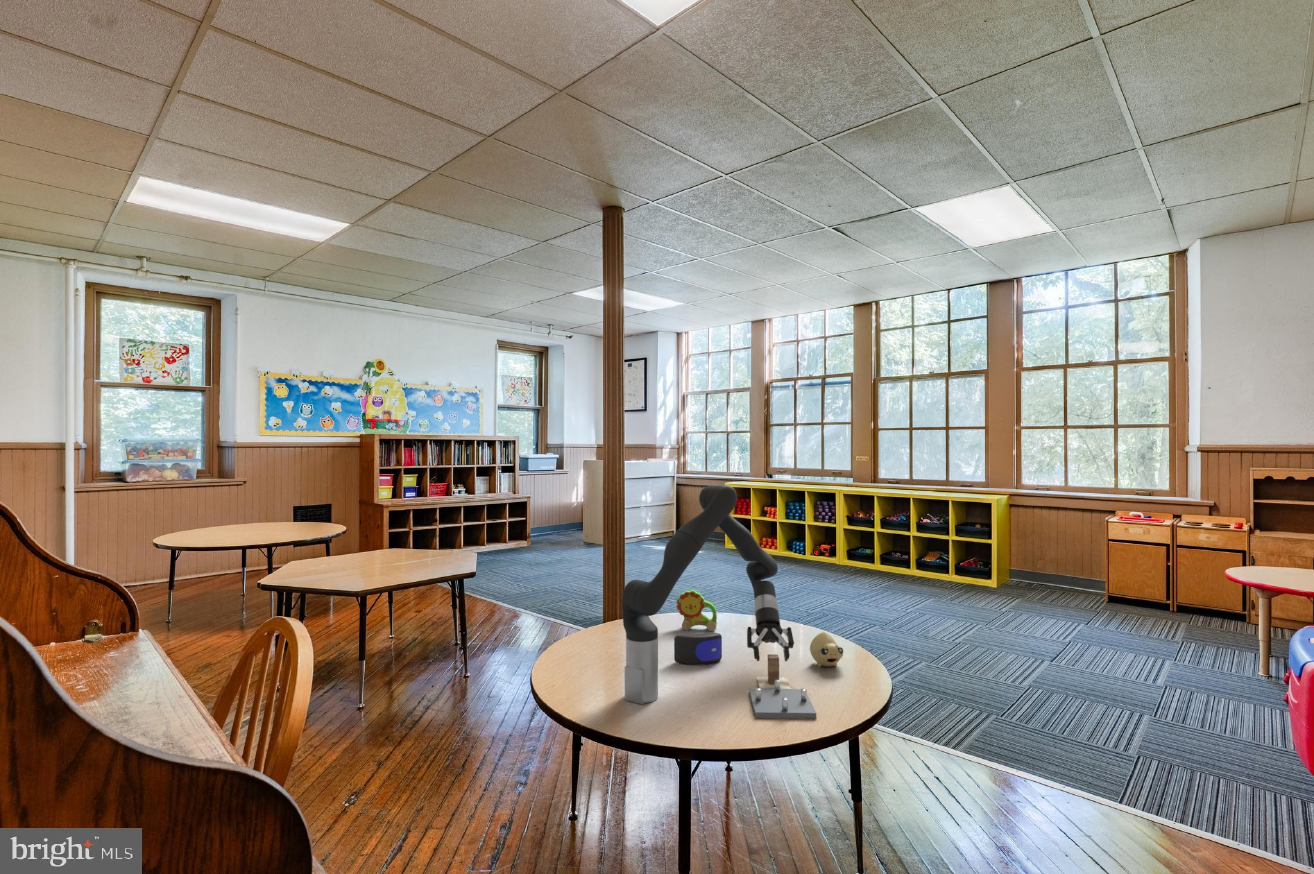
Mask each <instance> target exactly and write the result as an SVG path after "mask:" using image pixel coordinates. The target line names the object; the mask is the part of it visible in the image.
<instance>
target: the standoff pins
mask: <svg viewBox="0 0 1314 874" xmlns="http://www.w3.org/2000/svg"><path fill="white" fill-rule="evenodd" d="M754 689H755V700H756V701H761V689H760V688H759V687H756V688H754ZM800 689H801V701H803V702H806V701H807V695H808V693H807V692H808V691H807V689H806V688H800ZM775 692H780V680H775ZM782 711H788V698H782Z"/></svg>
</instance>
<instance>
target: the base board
mask: <svg viewBox="0 0 1314 874" xmlns="http://www.w3.org/2000/svg"><path fill="white" fill-rule="evenodd" d="M755 689H756V688H749V689H748V695H749V699H750V702H751V706H752V710H753V713H754V716H755V719H794V718H816V719H817V711H816V710H815V707H814V706H813V704H812V702H811V699H810V697H809V695H808V694H807V701H806V702H803V701H801V689H802V688H791V689H780V692H775V689H761V701H756V700H755ZM782 698H788V711H782Z"/></svg>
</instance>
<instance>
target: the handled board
mask: <svg viewBox="0 0 1314 874" xmlns="http://www.w3.org/2000/svg"><path fill="white" fill-rule="evenodd" d="M775 680H780V689H792V688H791V685H790V683H789V681H788V679H787V677H783V676H780V657H779V654H773V653H771V654H767V676H757V677H756V682H757V684H758V688H760V689H775Z"/></svg>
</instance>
